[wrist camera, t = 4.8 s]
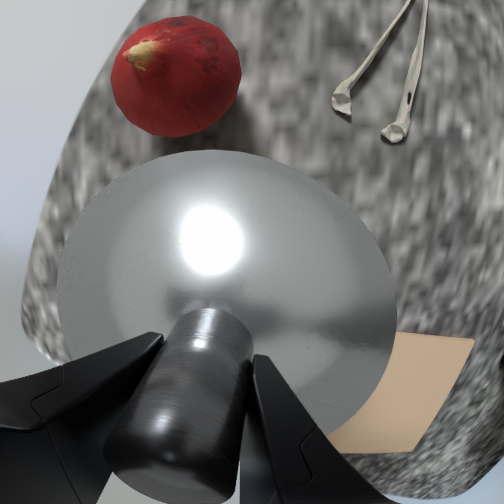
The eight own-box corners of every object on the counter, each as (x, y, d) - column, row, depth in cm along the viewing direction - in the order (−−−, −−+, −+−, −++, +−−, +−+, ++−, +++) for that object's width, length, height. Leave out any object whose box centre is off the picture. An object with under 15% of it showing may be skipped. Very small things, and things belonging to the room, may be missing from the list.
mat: (472, 338, 19) (474, 341, 18) (410, 448, 22) (411, 451, 21) (327, 322, 19) (328, 325, 19) (284, 446, 22) (284, 449, 22)
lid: (428, 195, 9) (569, 236, 3) (330, 458, 12) (342, 567, 6) (75, 136, 9) (-67, 132, 3) (83, 405, 12) (22, 490, 6)
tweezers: (394, 148, 17) (408, 144, 15) (324, 109, 16) (330, 100, 14) (452, -21, 13) (462, -32, 11) (400, -51, 13) (408, -65, 11)
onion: (183, 34, 15) (130, -34, 7) (267, 75, 15) (261, 9, 8) (131, 115, 16) (46, 91, 9) (210, 161, 17) (161, 156, 9)
